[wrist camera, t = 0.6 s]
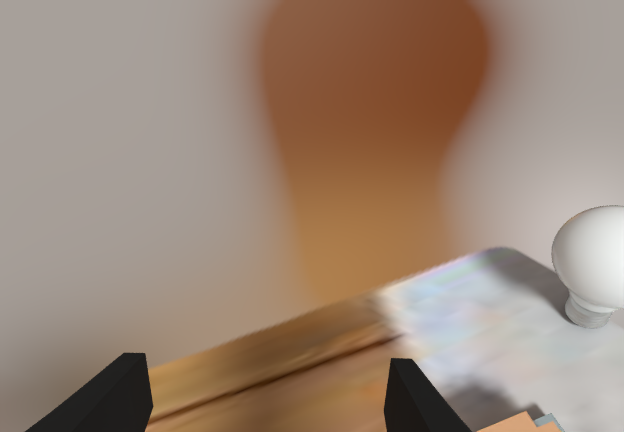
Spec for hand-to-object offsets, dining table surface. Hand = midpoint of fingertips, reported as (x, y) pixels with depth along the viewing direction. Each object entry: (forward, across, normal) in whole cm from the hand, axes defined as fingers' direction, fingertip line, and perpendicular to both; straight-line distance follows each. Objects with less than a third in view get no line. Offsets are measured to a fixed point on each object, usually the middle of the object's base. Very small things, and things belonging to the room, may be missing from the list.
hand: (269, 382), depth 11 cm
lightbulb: (+15, -23, +8) cm, 28 cm away
